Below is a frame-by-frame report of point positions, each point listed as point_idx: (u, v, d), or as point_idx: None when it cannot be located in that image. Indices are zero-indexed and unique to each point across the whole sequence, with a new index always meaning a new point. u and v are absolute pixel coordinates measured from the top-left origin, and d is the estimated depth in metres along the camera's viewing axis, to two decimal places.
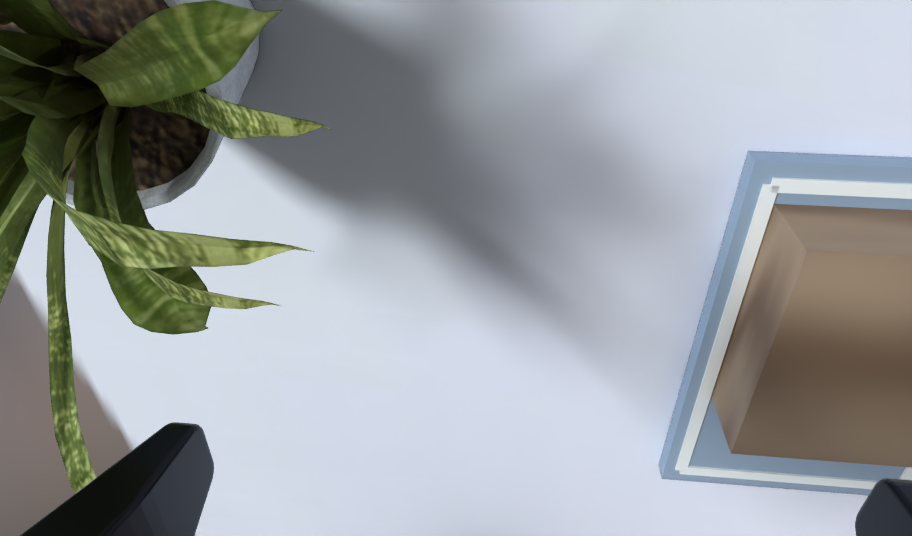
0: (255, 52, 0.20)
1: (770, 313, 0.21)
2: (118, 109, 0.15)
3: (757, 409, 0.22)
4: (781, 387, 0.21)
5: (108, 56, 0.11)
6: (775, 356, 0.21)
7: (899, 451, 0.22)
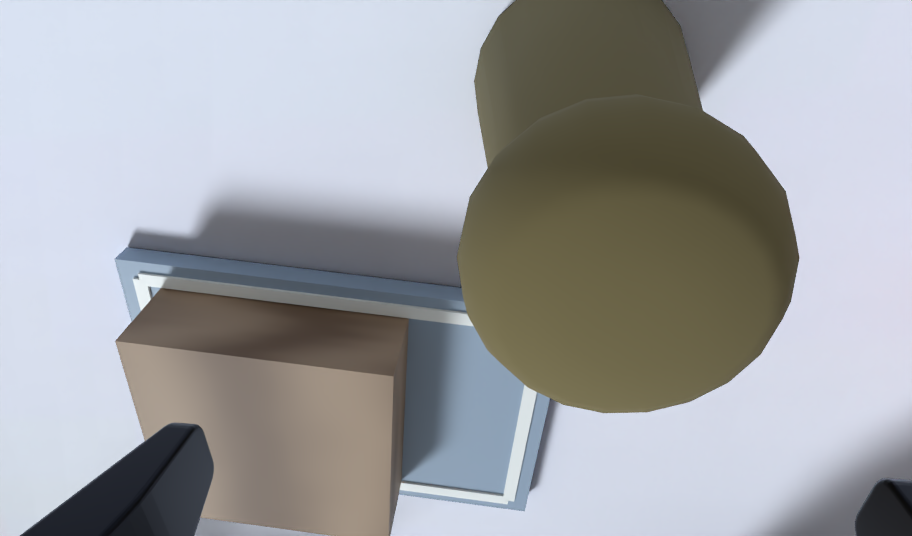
0: None
1: None
2: None
3: (328, 530, 0.24)
4: (299, 518, 0.24)
5: None
6: (265, 522, 0.25)
7: (367, 442, 0.21)
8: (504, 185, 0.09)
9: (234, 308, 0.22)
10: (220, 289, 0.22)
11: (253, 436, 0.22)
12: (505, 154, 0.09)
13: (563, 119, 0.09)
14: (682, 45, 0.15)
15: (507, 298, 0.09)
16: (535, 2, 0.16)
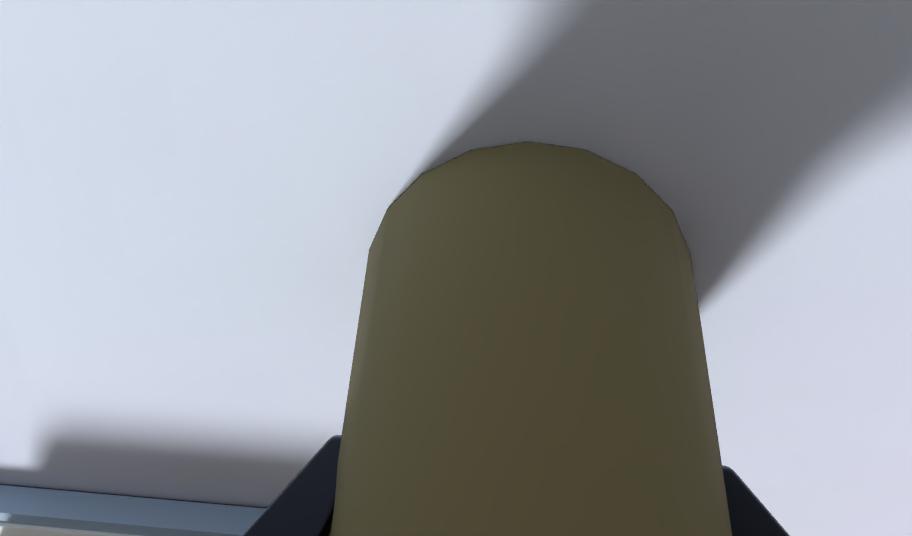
0: None
1: None
2: None
3: None
4: None
5: None
6: None
7: None
8: None
9: None
10: None
11: None
12: None
13: None
14: (674, 281, 0.09)
15: None
16: (429, 208, 0.10)
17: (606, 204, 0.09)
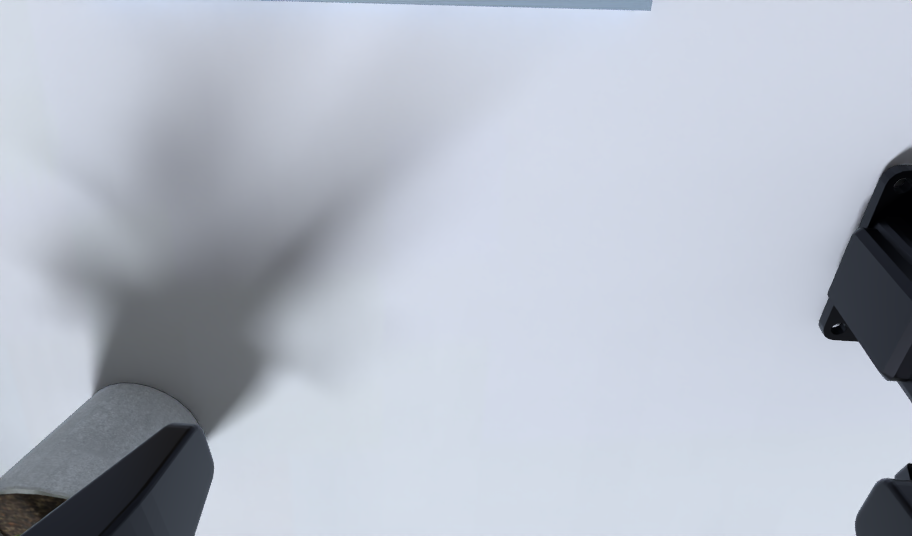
0: (135, 396, 0.27)
1: None
2: None
3: None
4: None
5: None
6: None
7: None
8: None
9: None
10: None
11: None
12: None
13: None
14: None
15: None
16: None
17: None
